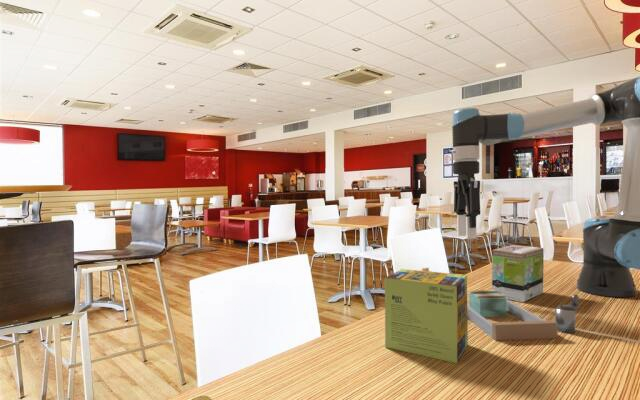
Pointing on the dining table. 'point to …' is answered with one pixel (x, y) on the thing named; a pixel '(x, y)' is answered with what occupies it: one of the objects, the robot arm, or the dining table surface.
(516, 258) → the tea box
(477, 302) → the crate
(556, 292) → the dining table surface
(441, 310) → the protein box
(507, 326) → the bay
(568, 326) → the winch drum
